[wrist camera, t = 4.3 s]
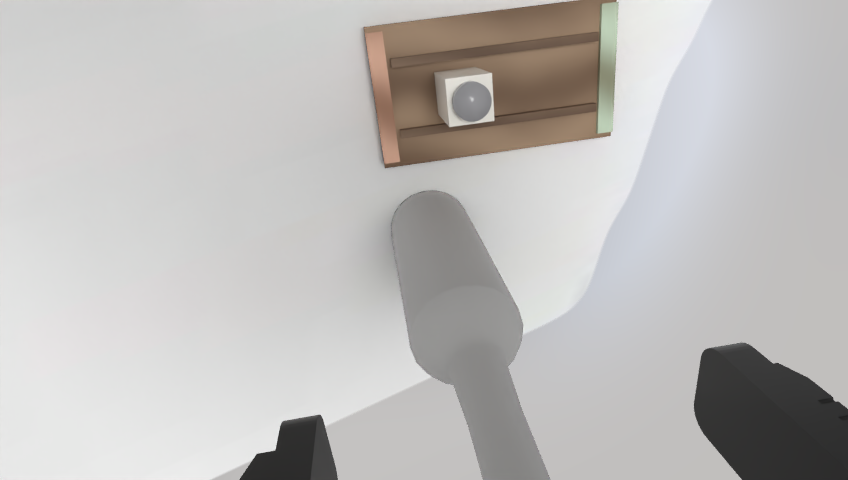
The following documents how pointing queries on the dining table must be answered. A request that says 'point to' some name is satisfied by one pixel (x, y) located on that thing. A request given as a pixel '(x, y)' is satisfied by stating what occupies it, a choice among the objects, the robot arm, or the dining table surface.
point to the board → (496, 78)
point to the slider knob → (464, 96)
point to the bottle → (464, 328)
